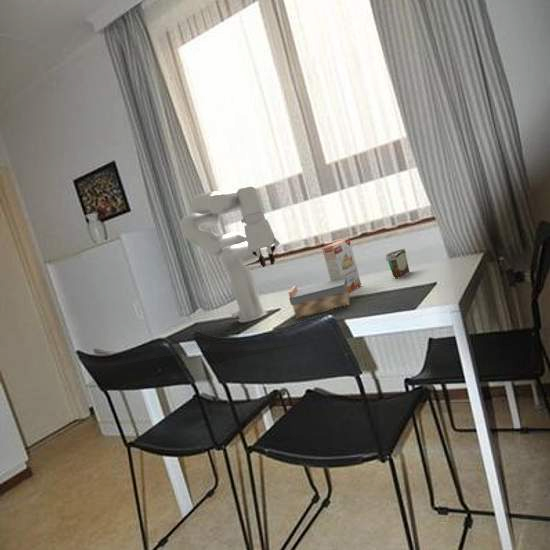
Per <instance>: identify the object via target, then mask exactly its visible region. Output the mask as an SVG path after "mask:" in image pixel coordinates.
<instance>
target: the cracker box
mask: <svg viewBox="0 0 550 550" xmlns="http://www.w3.org/2000/svg"><path fill="white" fill-rule="evenodd" d="M352 248H353V247H352V243H351V239H349V238H347V239H346V238H345V239H342V240H338V241H335V242H333V243H330V244H328V245H326V246H324V247H322V249H321V250H322V253H323V257H324V261H325V264H326V268H327V271H328V276H329V279H330V281H333V280H337V279H341V278H345V277H346V280H347V287H348V291H349V294H350V293H352V292H353V291H355V290H356V288H357V287H358V288H360V287H361V286H362V281H361V279H360V274H359V271H358V267H357V264H356V260H355V256H354V253H353V252H354V251H353V249H352ZM360 285H361V286H360ZM359 286H360V287H359ZM358 288H357V289H358ZM354 289H355V290H354ZM351 291H352V292H351Z"/></svg>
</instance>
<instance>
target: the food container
mask: <svg viewBox="0 0 550 550" xmlns="http://www.w3.org/2000/svg"><path fill="white" fill-rule="evenodd" d="M406 253H407V251H406V249H405V248H402V249H398V250H394V251H390V252H389V253H386V255H385V261H386V262H387V263H388V264H389V265H388V266H389V268H390V271H391V273H392V277H393V278H394V277H395V278H394V279H399V278H398V277H402V276H404V275H405V274H406V273H408V272H409V273H410V268H409V263H408V258H407V255H406ZM409 273H408V274H409ZM406 275H407V274H406ZM406 275H405V276H406ZM405 276H404V277H405ZM402 278H403V277H402Z"/></svg>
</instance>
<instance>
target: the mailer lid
mask: <svg viewBox="0 0 550 550" xmlns="http://www.w3.org/2000/svg"><path fill="white" fill-rule="evenodd" d="M345 282H346V284H347V280H346V277H345V278H341V279H337V280H333V281H331V280H330V281H327V282H326V281H325V282H322V283H318V284H315V285H311V286H307V287H303V288H302V287H301V288H298V287H297V285H293V286H292V287H291V289H290V290H289V291H288V297H289V299H288V300H289V303H290V306H293V305H294V304H298V303H302V302H306V301H310V300H314V299H318V298H322V297H326V296H330V295H334V294H338V293H342V292H346V290H345Z"/></svg>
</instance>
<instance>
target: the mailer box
mask: <svg viewBox="0 0 550 550" xmlns="http://www.w3.org/2000/svg"><path fill="white" fill-rule="evenodd" d="M345 290H346V292H342V293H338V294H334V295H330V296H326V297H322V298H318V299H314V300H310V301H306V302H302V303H298V304H294V305H292V308H293V311H294V312H293V313H294V314H295V318H296V319H299V318H302V317H305V316H306V317H307V316H310V315H315V314H319V313H322V312H327V311H331V310H334V309H333V308H336V309H338V308H337V307H340V308H342V307H341V306H344V307H346V306H345V305H348V306H350V302H349V300H350V301H351V295H350V293H349V291H348V287H347V284H346V282H345ZM330 309H331V310H330Z"/></svg>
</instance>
